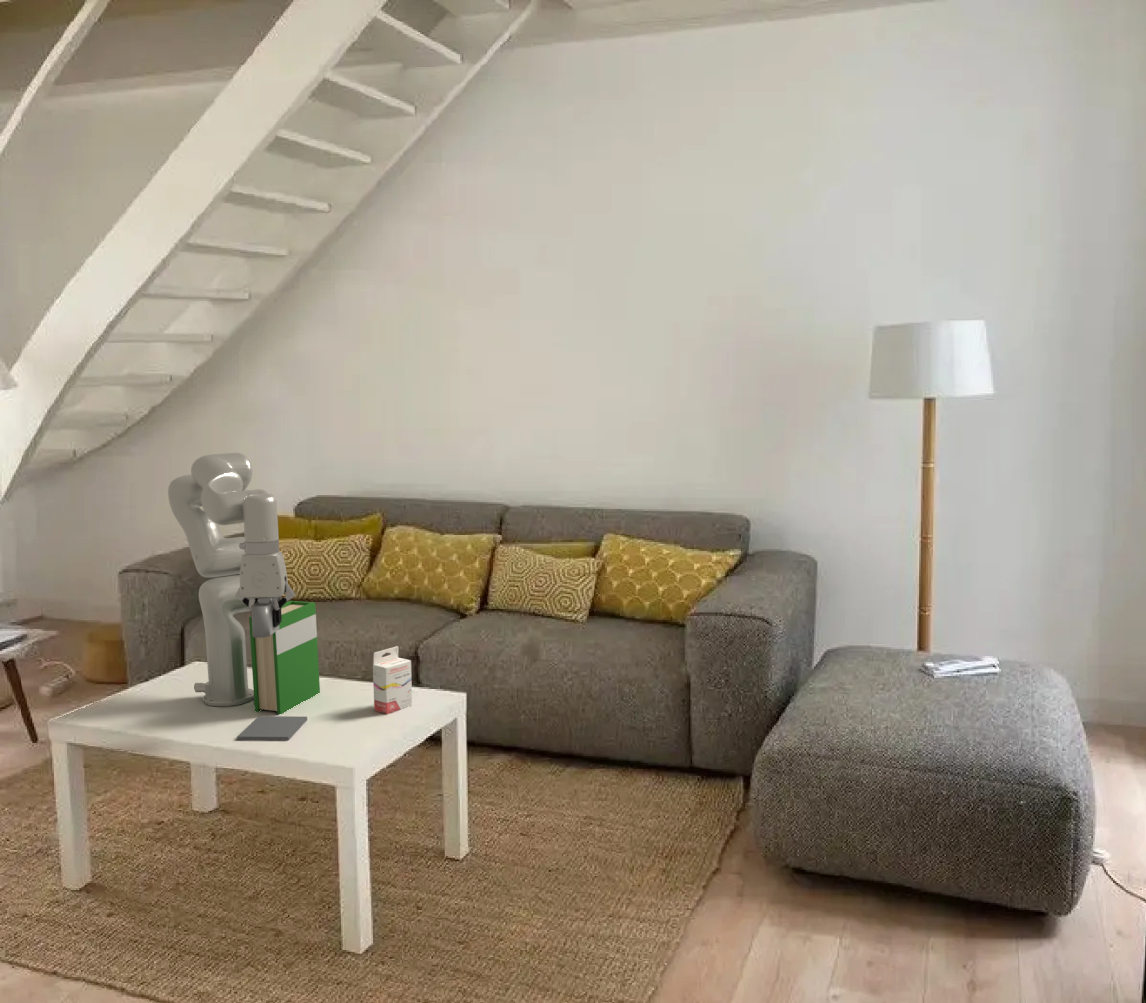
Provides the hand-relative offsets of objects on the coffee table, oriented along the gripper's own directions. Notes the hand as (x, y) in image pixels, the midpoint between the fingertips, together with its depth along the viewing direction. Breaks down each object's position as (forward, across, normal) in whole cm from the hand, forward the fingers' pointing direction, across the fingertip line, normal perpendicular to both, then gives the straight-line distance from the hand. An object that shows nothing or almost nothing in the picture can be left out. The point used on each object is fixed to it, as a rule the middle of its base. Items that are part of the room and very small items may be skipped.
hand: (266, 624), depth 265 cm
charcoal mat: (+25, 0, 0) cm, 25 cm away
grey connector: (+2, 0, -1) cm, 2 cm away
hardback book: (+25, -3, +20) cm, 33 cm away
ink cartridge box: (+25, +25, +16) cm, 39 cm away
